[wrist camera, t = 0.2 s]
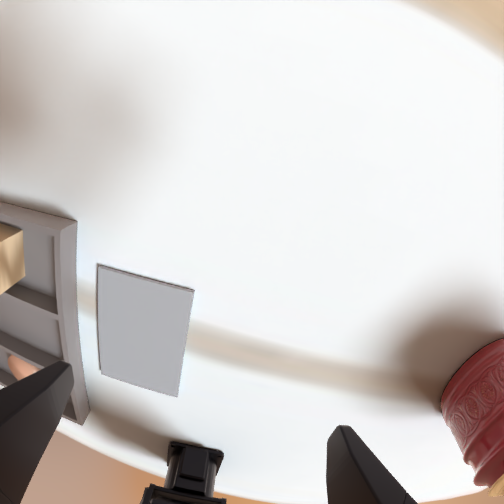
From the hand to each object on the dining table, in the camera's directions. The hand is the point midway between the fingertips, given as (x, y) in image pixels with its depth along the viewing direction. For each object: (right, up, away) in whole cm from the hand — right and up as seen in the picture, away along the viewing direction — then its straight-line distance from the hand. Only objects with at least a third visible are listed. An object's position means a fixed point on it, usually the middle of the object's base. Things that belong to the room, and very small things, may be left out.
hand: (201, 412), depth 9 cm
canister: (+29, -10, +19) cm, 36 cm away
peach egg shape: (-25, -8, +19) cm, 32 cm away
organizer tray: (-23, -1, +17) cm, 28 cm away
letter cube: (-21, +5, +14) cm, 26 cm away
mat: (-8, -2, +17) cm, 19 cm away
